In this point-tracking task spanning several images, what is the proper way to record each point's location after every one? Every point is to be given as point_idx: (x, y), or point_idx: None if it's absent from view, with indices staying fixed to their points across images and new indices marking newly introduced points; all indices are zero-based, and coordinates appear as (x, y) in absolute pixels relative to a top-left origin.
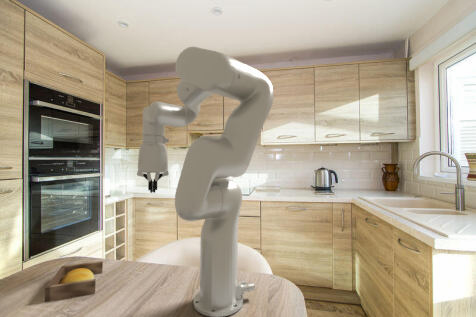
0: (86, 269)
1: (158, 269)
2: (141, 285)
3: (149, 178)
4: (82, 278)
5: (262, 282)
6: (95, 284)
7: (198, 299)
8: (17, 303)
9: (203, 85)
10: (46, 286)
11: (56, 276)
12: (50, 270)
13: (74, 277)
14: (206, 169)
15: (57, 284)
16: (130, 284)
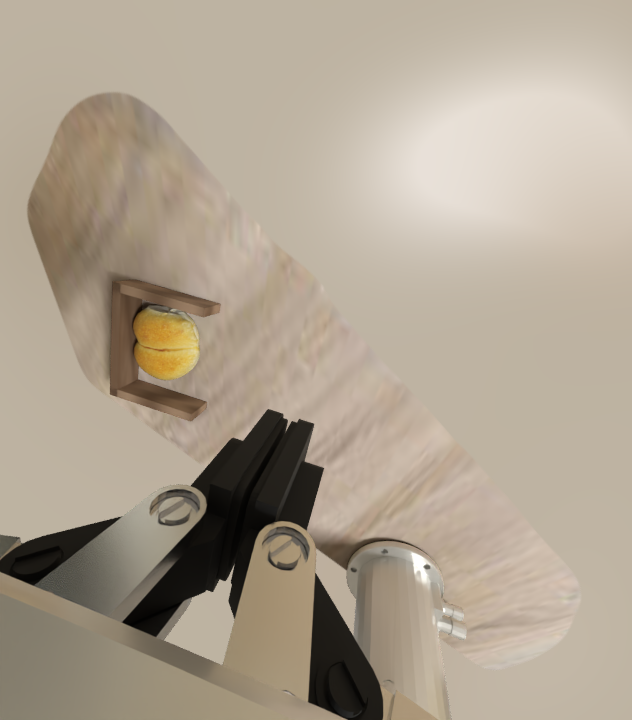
0: (171, 336)
1: (352, 381)
2: None
3: (151, 610)
4: (170, 375)
5: (526, 591)
6: (198, 409)
7: (359, 566)
8: (91, 359)
9: None
10: (110, 388)
11: (115, 346)
12: (100, 204)
13: (152, 371)
14: None
15: (131, 346)
16: None
